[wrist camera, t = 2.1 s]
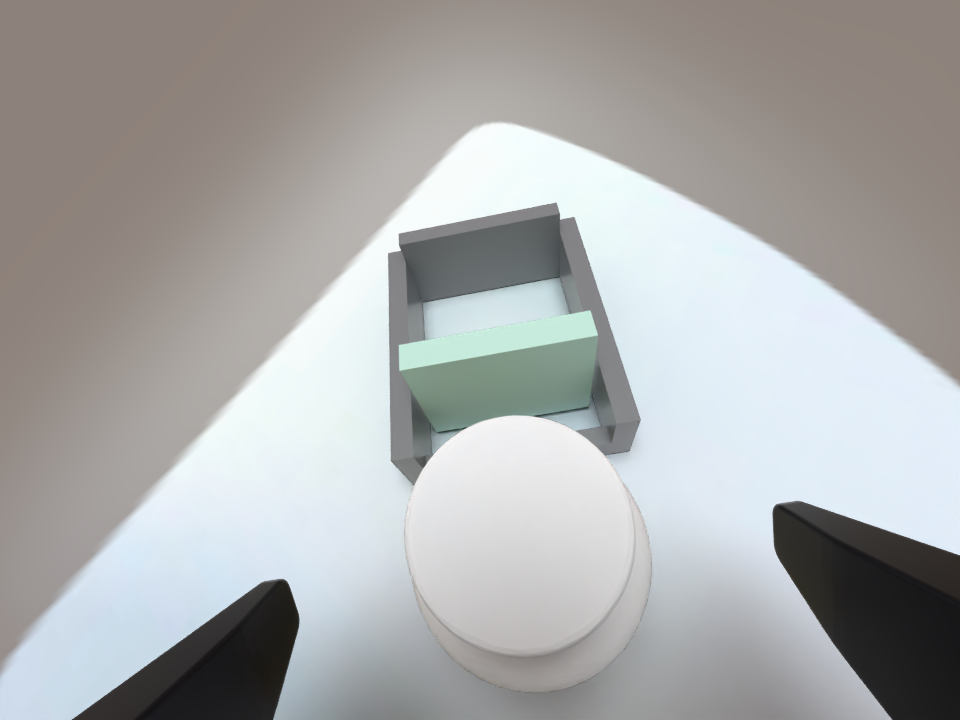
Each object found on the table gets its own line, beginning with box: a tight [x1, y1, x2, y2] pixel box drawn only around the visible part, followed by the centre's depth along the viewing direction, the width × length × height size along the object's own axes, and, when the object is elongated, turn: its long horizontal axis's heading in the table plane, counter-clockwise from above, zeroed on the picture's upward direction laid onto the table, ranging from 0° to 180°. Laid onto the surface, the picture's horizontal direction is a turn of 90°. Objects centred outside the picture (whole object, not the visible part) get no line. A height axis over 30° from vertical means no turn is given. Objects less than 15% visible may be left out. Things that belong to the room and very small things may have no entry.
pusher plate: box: [399, 310, 598, 432], centre depth 17 cm, size 1×6×5 cm, turn 96°
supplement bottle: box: [404, 415, 652, 693], centre depth 12 cm, size 5×5×10 cm
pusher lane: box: [388, 203, 641, 485], centre depth 19 cm, size 10×9×4 cm
